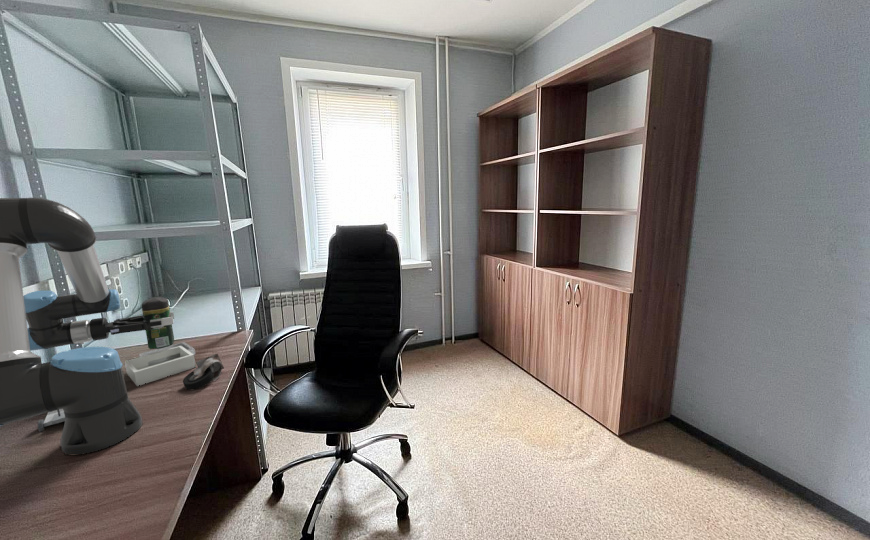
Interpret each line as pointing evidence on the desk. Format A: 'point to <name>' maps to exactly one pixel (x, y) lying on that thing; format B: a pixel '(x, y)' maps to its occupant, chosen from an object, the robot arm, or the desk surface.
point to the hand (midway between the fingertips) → (173, 317)
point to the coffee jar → (161, 334)
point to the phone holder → (51, 419)
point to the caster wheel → (204, 373)
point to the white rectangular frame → (168, 348)
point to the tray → (159, 365)
